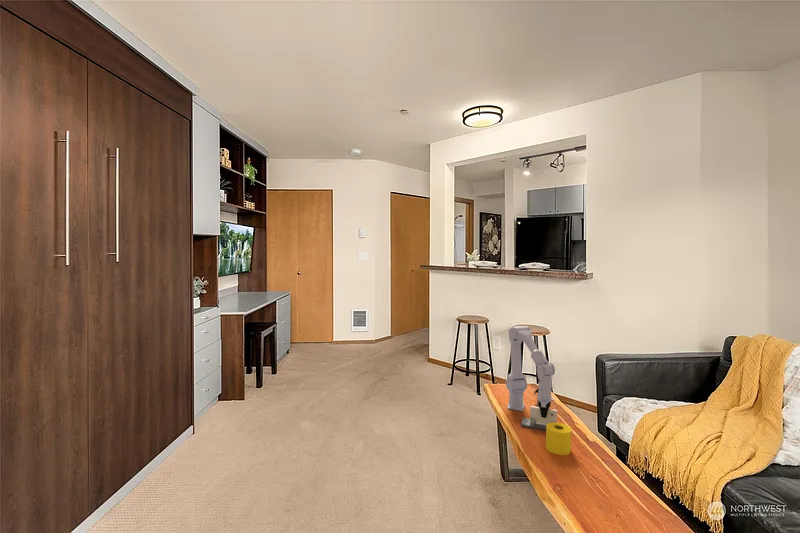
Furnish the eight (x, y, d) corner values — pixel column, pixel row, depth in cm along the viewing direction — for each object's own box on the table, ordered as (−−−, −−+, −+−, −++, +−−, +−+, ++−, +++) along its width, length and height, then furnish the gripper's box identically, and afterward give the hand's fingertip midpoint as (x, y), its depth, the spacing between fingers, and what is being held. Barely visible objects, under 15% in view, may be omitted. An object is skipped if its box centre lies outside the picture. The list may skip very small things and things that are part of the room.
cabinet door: (530, 419, 194) (530, 405, 194) (556, 424, 189) (557, 410, 189) (529, 421, 192) (530, 407, 192) (556, 426, 187) (557, 411, 187)
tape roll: (550, 454, 166) (550, 432, 166) (542, 442, 176) (543, 421, 176) (574, 455, 166) (575, 433, 165) (565, 443, 176) (566, 422, 175)
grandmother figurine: (532, 405, 216) (533, 382, 215) (533, 403, 219) (534, 380, 219) (548, 408, 213) (549, 384, 212) (548, 405, 217) (549, 382, 216)
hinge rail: (522, 419, 199) (522, 411, 198) (566, 427, 191) (566, 418, 191) (520, 426, 191) (521, 417, 191) (566, 434, 184) (566, 425, 183)
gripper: (553, 395, 182) (552, 424, 183) (554, 384, 195) (553, 412, 196) (536, 392, 185) (535, 421, 185) (539, 382, 198) (538, 409, 199)
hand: (543, 416), depth 191 cm, fingers closed on cabinet door, 1 cm apart
